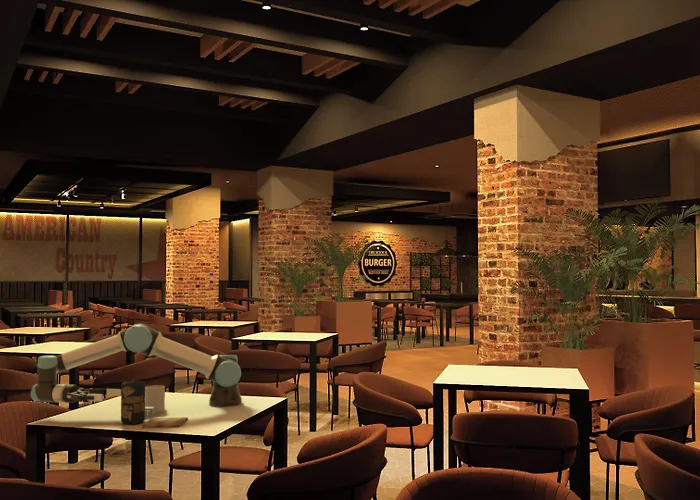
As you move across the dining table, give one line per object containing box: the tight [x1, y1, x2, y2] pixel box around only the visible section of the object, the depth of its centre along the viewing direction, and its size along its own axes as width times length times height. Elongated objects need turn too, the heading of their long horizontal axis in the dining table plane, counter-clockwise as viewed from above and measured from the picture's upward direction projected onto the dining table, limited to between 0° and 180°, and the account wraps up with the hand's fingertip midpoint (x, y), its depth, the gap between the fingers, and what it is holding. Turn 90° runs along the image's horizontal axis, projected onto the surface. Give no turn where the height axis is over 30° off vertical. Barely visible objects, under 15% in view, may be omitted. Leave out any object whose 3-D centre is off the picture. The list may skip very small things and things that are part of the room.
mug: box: [145, 384, 166, 414], centre depth 302 cm, size 12×8×11 cm
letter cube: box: [145, 407, 156, 419], centre depth 288 cm, size 4×4×4 cm
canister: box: [120, 378, 146, 425], centre depth 276 cm, size 10×10×18 cm
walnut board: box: [141, 416, 189, 429], centre depth 273 cm, size 15×15×1 cm
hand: (111, 395), depth 278 cm, fingers open, 13 cm apart
